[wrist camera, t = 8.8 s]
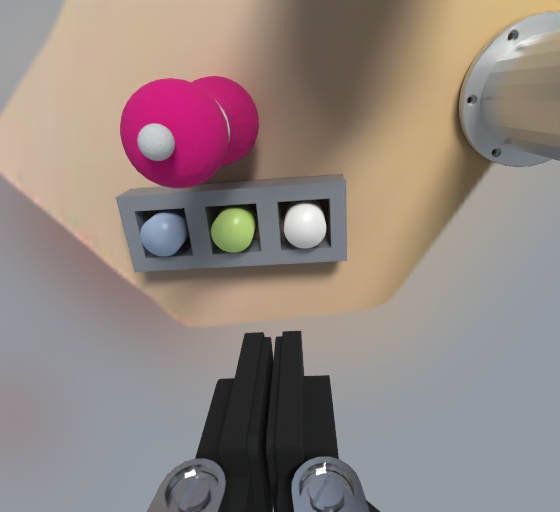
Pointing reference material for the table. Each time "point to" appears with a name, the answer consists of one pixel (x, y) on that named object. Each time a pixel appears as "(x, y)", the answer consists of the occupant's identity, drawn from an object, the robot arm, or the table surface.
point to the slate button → (165, 232)
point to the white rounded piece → (304, 223)
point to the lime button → (234, 228)
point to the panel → (261, 192)
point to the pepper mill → (187, 129)
